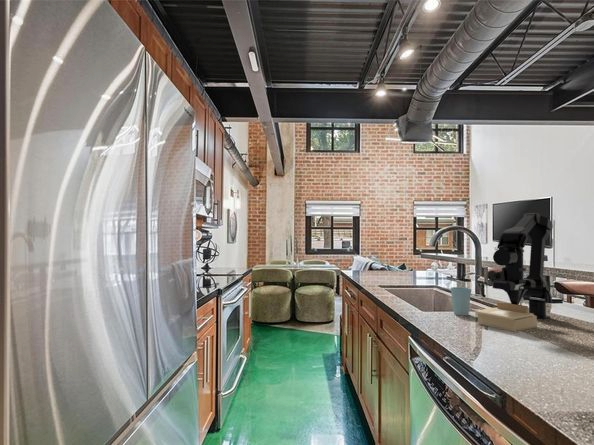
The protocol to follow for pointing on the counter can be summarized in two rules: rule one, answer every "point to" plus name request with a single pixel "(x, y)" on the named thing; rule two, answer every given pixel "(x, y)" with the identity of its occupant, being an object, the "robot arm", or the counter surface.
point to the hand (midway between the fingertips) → (514, 307)
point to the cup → (460, 300)
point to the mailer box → (508, 322)
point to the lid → (507, 311)
